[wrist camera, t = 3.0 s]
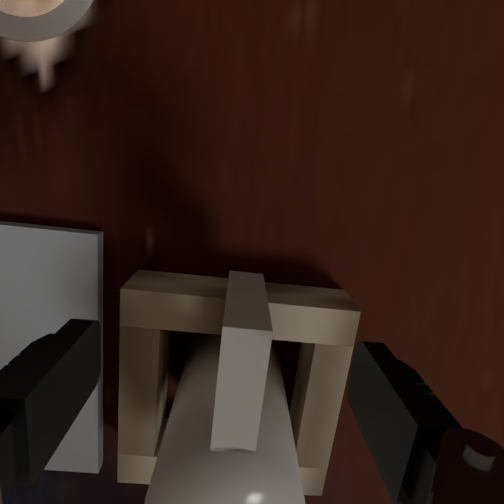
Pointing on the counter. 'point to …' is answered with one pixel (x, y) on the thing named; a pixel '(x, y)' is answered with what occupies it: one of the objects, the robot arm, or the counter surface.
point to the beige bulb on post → (230, 414)
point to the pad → (54, 314)
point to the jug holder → (211, 322)
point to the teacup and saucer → (44, 22)
